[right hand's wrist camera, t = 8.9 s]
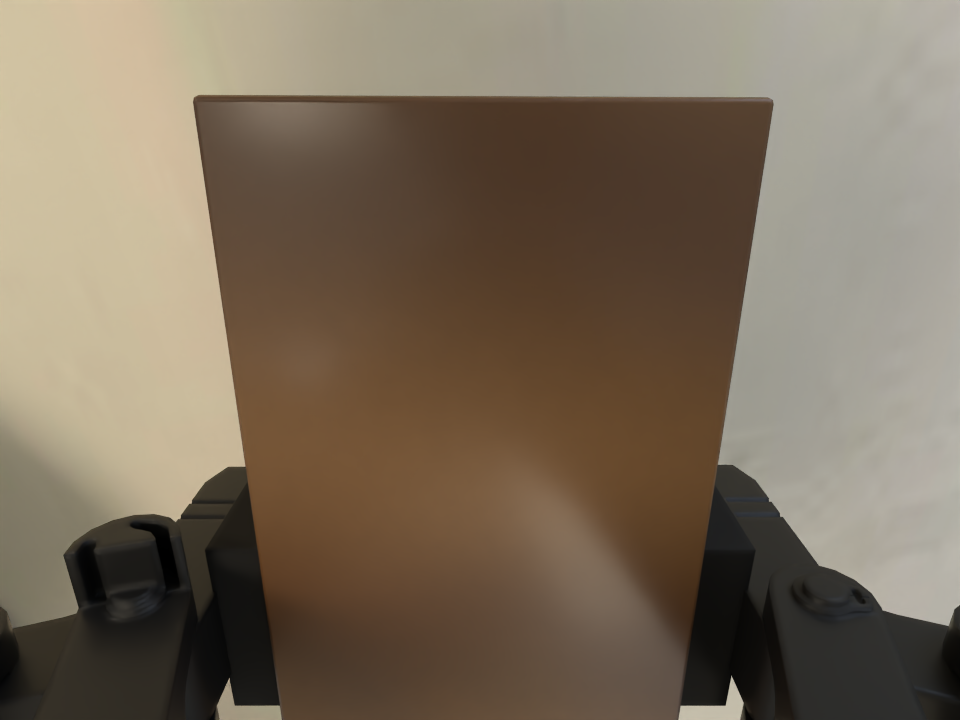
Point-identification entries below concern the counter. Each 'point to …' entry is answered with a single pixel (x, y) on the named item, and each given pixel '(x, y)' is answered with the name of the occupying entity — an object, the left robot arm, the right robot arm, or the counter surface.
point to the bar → (481, 388)
